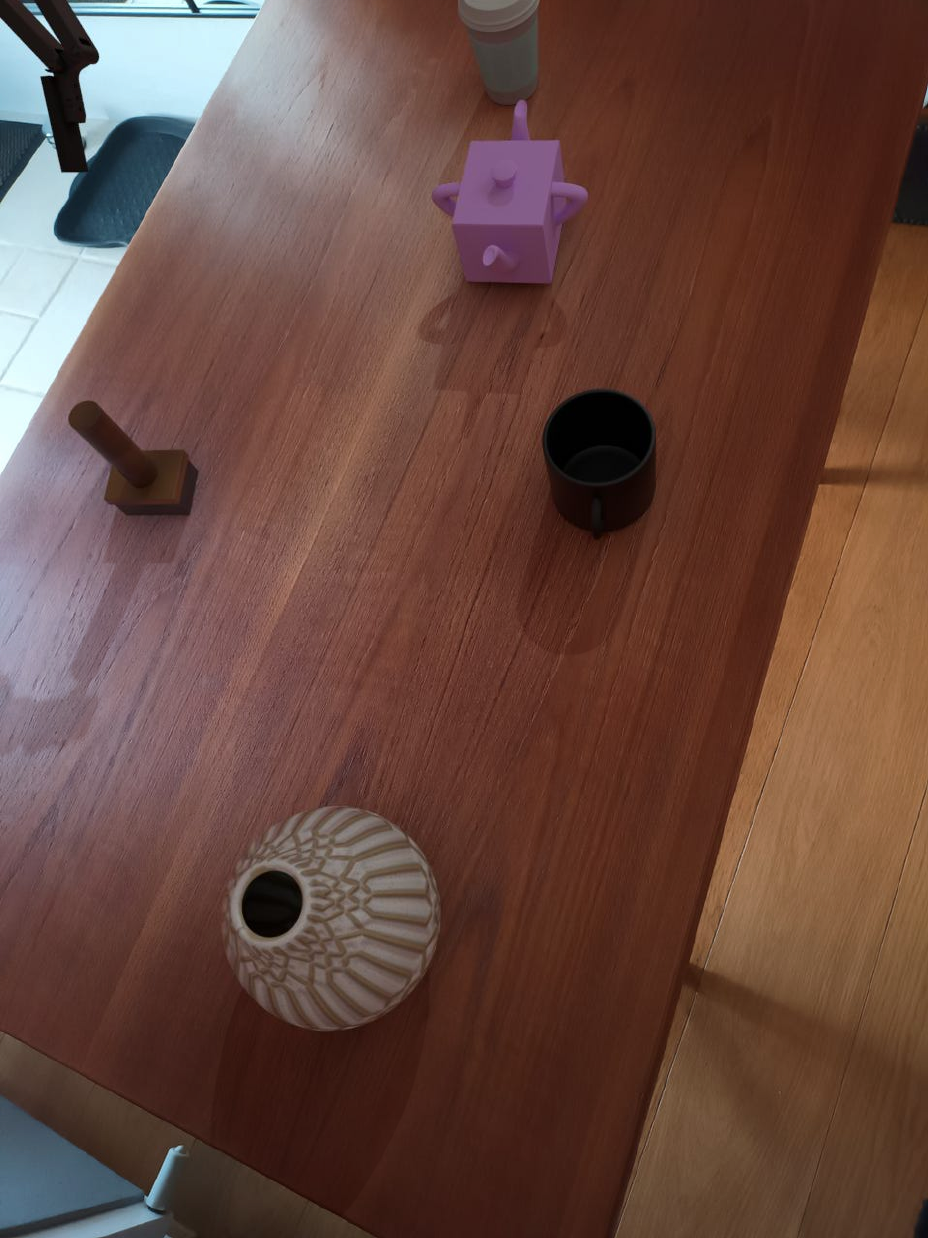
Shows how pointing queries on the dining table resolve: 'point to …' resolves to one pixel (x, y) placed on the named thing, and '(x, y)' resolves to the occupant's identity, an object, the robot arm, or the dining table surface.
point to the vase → (331, 918)
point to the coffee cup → (504, 45)
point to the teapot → (510, 207)
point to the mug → (601, 459)
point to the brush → (136, 467)
